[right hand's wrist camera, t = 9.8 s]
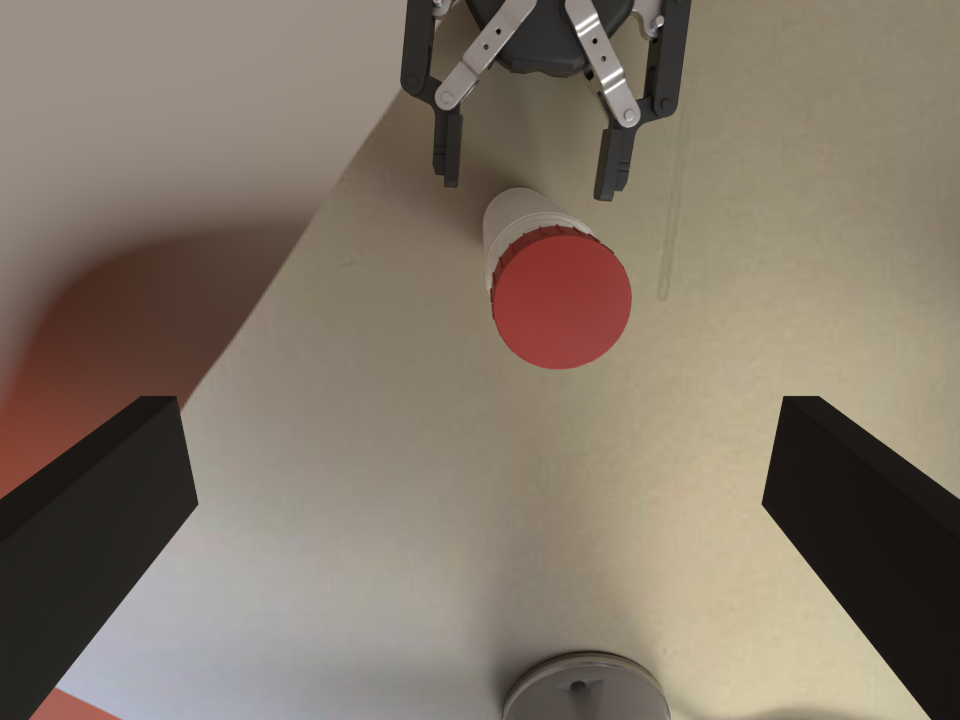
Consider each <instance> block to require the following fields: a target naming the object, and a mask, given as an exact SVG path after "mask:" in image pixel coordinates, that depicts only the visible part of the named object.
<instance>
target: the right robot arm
mask: <svg viewBox="0 0 960 720" xmlns="http://www.w3.org/2000/svg"><path fill="white" fill-rule="evenodd" d="M197 506H198V499H197V494H196V490H195V485H194V480H193V475H192V470H191V465H190V460H189V455H188V450H187V445H186V440H185V435H184V430H183V426H182V421H181V416H180V411H179V406H178V401H177V397H176V396H141V397H139V398H138V399H136V400H135V401H134V402H132V403H131V404H130V405H128V406H127V407H126V408H124V409H123V410H121V411H120V412H119V413H117V414H116V415H115V416H113V417H112V418H111V419H109V420H108V421H107V422H105V423H104V424H102V425H101V426H100V427H98V428H97V429H96V430H94V431H93V432H92V433H90V434H89V435H87V436H86V437H85V438H83V439H82V440H81V441H79V442H78V443H77V444H75V445H74V446H72V447H71V448H70V449H68V450H67V451H66V452H64V453H63V454H62V455H60V456H59V457H57V458H56V459H55V460H53V461H52V462H51V463H49V464H48V465H47V466H45V467H44V468H43V469H41V470H40V471H38V472H37V473H36V474H34V475H33V476H32V477H30V478H29V479H28V480H26V481H25V482H23V483H22V484H21V485H19V486H18V487H17V488H15V489H14V490H13V491H11V492H10V493H9V494H7V495H6V496H4V497H3V498H2V499H0V720H29V719H30V717H31V716H32V715H33V714H34V712H35V711H36V710H37V708H38V707H39V706H40V705H41V703H42V702H43V701H44V700H45V698H46V697H47V696H48V695H49V693H50V692H51V691H52V689H53V688H54V687H55V686H56V684H57V683H58V682H59V681H60V679H61V678H62V677H63V676H64V674H65V673H66V672H67V670H68V669H69V668H70V667H71V665H72V664H73V663H74V662H75V660H76V659H77V658H78V657H79V655H80V654H81V653H82V651H83V650H84V649H85V648H86V646H87V645H88V644H89V643H90V641H91V640H92V639H93V637H94V636H95V635H96V634H97V632H98V631H99V630H100V629H101V627H102V626H103V625H104V624H105V622H106V621H107V620H108V618H109V617H110V616H111V615H112V613H113V612H114V611H115V610H116V608H117V607H118V606H119V604H120V603H121V602H122V601H123V599H124V598H125V597H126V596H127V594H128V593H129V592H130V591H131V589H132V588H133V587H134V585H135V584H136V583H137V582H138V580H139V579H140V578H141V577H142V575H143V574H144V573H145V571H146V570H147V569H148V568H149V566H150V565H151V564H152V563H153V561H154V560H155V559H156V558H157V556H158V555H159V554H160V552H161V551H162V550H163V549H164V547H165V546H166V545H167V544H168V542H169V541H170V540H171V539H172V537H173V536H174V535H175V533H176V532H177V531H178V530H179V528H180V527H181V526H182V525H183V523H184V522H185V521H186V519H187V518H188V517H189V516H190V514H191V513H192V512H193V511H194V509H195V508H196V507H197ZM762 506H763V507H764V508H765V509H766V511H767V512H768V513H769V514H770V516H771V517H772V518H773V519H774V521H775V522H776V523H777V525H778V526H779V527H780V528H781V530H782V531H783V532H784V533H785V535H786V536H787V537H788V539H789V540H790V541H791V542H792V544H793V545H794V546H795V547H796V549H797V550H798V551H799V552H800V554H801V555H802V556H803V558H804V559H805V560H806V561H807V563H808V564H809V565H810V566H811V568H812V569H813V570H814V571H815V573H816V574H817V575H818V577H819V578H820V579H821V580H822V582H823V583H824V584H825V585H826V587H827V588H828V589H829V591H830V592H831V593H832V594H833V596H834V597H835V598H836V599H837V601H838V602H839V603H840V604H841V606H842V607H843V608H844V610H845V611H846V612H847V613H848V615H849V616H850V617H851V618H852V620H853V621H854V622H855V624H856V625H857V626H858V627H859V629H860V630H861V631H862V632H863V634H864V635H865V636H866V637H867V639H868V640H869V641H870V643H871V644H872V645H873V646H874V648H875V649H876V650H877V651H878V653H879V654H880V655H881V657H882V658H883V659H884V660H885V662H886V663H887V664H888V665H889V667H890V668H891V669H892V670H893V672H894V673H895V674H896V676H897V677H898V678H899V679H900V681H901V682H902V683H903V684H904V686H905V687H906V688H907V689H908V691H909V692H910V693H911V695H912V696H913V697H914V698H915V700H916V701H917V702H918V703H919V705H920V706H921V707H922V709H923V710H924V711H925V712H926V714H927V715H928V716H929V717H930V719H931V720H960V499H958V498H957V497H956V496H954V495H953V494H952V493H950V492H949V491H947V490H946V489H945V488H943V487H942V486H941V485H939V484H938V483H937V482H935V481H934V480H932V479H931V478H930V477H928V476H927V475H926V474H924V473H923V472H922V471H920V470H919V469H917V468H916V467H915V466H913V465H912V464H911V463H909V462H908V461H907V460H905V459H904V458H903V457H901V456H900V455H898V454H897V453H896V452H894V451H893V450H892V449H890V448H889V447H888V446H886V445H885V444H883V443H882V442H881V441H879V440H878V439H877V438H875V437H874V436H873V435H871V434H870V433H868V432H867V431H866V430H864V429H863V428H862V427H860V426H859V425H858V424H856V423H855V422H854V421H852V420H851V419H849V418H848V417H847V416H845V415H844V414H843V413H841V412H840V411H839V410H837V409H836V408H834V407H833V406H832V405H830V404H829V403H828V402H826V401H825V400H824V399H822V398H821V397H819V396H783V401H782V406H781V411H780V416H779V421H778V426H777V430H776V435H775V440H774V445H773V450H772V455H771V460H770V465H769V470H768V475H767V480H766V485H765V490H764V494H763V499H762ZM503 720H671V716H670V711H669V708H668V705H667V702H666V699H665V696H664V693H663V691H662V689H661V687H660V685H659V684H658V682H657V681H656V679H655V678H654V677H653V676H652V675H651V674H650V673H649V672H648V671H646V670H645V669H644V668H642V667H641V666H639V665H637V664H636V663H634V662H632V661H629V660H627V659H624V658H622V657H618V656H614V655H609V654H603V653H577V654H570V655H565V656H561V657H557V658H554V659H551V660H549V661H546V662H544V663H542V664H540V665H538V666H536V667H535V668H533V669H532V670H530V671H529V672H527V673H526V674H525V675H524V676H522V677H521V678H520V679H519V680H518V681H517V683H516V684H515V685H514V686H513V688H512V689H511V691H510V692H509V694H508V696H507V698H506V701H505V704H504V709H503Z"/></svg>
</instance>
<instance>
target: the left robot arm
mask: <svg viewBox="0 0 960 720" xmlns="http://www.w3.org/2000/svg"><path fill="white" fill-rule="evenodd" d="M455 1H456V0H408V2H407V13H406V24H405V35H404V46H403V57H402V68H401V78H400V82H401V86H402V88H403V89H404V90H405V91H406V92H407V93H409V94H410V95H411V96H413V97H415V98H418V99H420V100H422V101H424V102H426V103H428V104H430V105H431V106H432V108H433V109H434V112H435V133H434V151H433V167H434V170H435V174H436V175H445V176H444V187H451V188H457V187H458V180H459V167H460V153H461V139H462V125H463V116H462V115H461V114H460V105H461V104H462V103H463V102H464V101H465V99H466V98H467V97H468V96H469V95H470V93H471V92H472V91H473V90H474V88H475V87H476V86H477V85H478V84H479V83H480V82H481V81H482V80H483V79H484V77H485V76H486V75H487V74H488V73H489V71H490V70H491V69H492V68H493V66H494V65H495V64H496V63H497V62H499V63H500V65H502V66H503V67H504V68H506V69H508V70H510V73H520V74H526V73H531V72H536V71H540V72H543V73H545V74H547V75H550V76H552V77H561V78H567V77H568V76H571V75H574V74H577V73H578V72H581V74H582V76H583V78H584V80H585V82H586V84H587V86H588V87H589V89H590V91H591V92H592V94H593V95H594V96H595V97H596V99H597V101H598V103H599V105H600V107H601V109H602V111H603V113H604V115H605V117H606V119H607V121H608V123H609V125H608V129H604V130H603V134H602V141H601V147H600V154H599V161H598V167H597V174H596V181H595V187H594V199H596V200H599V201H610V202H611V201H612V199H613V195H614V191H622V190H623V188H624V186H625V185H626V183H627V179H628V173H629V167H630V161H631V155H632V150H633V144H634V138H635V134H636V131H637V129H638V128H639V127H640V126H641V125H642V124H644V123H646V122H650V121H653V120H657V119H660V118H664V117H668V116H670V115H672V114H673V113H674V112H675V110H676V108H677V104H678V97H679V89H680V82H681V74H682V67H683V59H684V52H685V44H686V37H687V29H688V22H689V14H690V7H691V0H466V2H467V5H468V7H469V9H470V11H471V13H472V15H473V16H474V18H475V20H476V22H477V24H478V26H479V28H480V30H481V33H480V34H479V36H478V37H477V38H476V39H475V41H474V42H473V43H472V44H471V46H470V47H469V48H468V49H467V51H466V52H465V53H464V55H463V56H462V58H461V59H460V61H459V63H458V64H457V65H456V66H455V68H454V69H453V70H452V71H451V73H450V74H449V75H448V76H447V78H446V79H445V80H444V81H443V82H441V81H439V80H437V79H435V78H433V77H431V76H430V67H431V58H432V48H433V39H434V30H435V21H436V19H437V20H442V19H445V18H446V17H447V16H448V15H449V13H450V11H451V7H452V5H453V3H454V2H455ZM629 15H632V16H634V17H635V18H636V19H637V20H638V23H639V31H640V35H641V36H642V38H644V39H645V40H649V50H648V59H647V68H646V77H645V85H644V94H643V98H642V99H639V100H635V98H634V96H633V94H632V92H631V90H630V88H629V86H628V84H627V82H626V80H625V76H624V70H623V68H622V66H621V64H620V62H619V60H618V57H617V55H616V53H615V51H614V49H613V47H612V45H611V43H610V41H609V39H610V38H611V37H612V36H613V34H614V33H615V32H616V31H617V30H618V28H619V27H620V26H621V25H622V24H623V22H624V21H625V20H626V19H627V18H628V16H629ZM602 57H603V58H604V61H603V59H602ZM591 68H592V69H591Z"/></svg>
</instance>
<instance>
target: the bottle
mask: <svg viewBox="0 0 960 720" xmlns="http://www.w3.org/2000/svg"><path fill="white" fill-rule="evenodd" d="M556 224H558V225H559V226H566V227H571V228H572V227H573V226H574V227H576V228H577V229H578V230H580V231H582V232H584V233H586V234H588V233H590V234H591V235H593V236H594V237H595V238H596V236H595V235H594V234H593V232H592V231H591V230H590V229H589V228H588V227H587V226H586V225H585V224H584V223H582V222H581V221H579V220H578V219H576V218H575V217H574V216H572V215H571V214H569V213H568V212H566V211H565V210H563V209H562V208H561V207H559V206H558V205H556V204H555V203H553V202H552V201H550V200H549V199H547V198H546V197H545V196H543V195H542V194H540V193H539V192H537V191H535V190H532V189H529V188H523V187H518V188H511V189H508V190H505V191H503V192H501V193H500V194H499V195H497V196H496V197H495V198H494V199H493V200H492V201H491V202H490V204H489V205H488V207H487V209H486V211H485V214H484V218H483V244H484V267H485V282H486V287H487V290H488V293H489V296H490V288H492V279H493V278H492V272H494V271H495V268H496V265H497V263H498V261H499V259H498V258H499V256H500V257H501V256H502V255H503V253H504V252H505V250H506V249H507V248H508V247H509V244H510V243H511V244H512V243H513V242H514V241H515V240H517V239H518V238H519V237H521V236H522V235H523V233H525V234H526V233H528V232H530V231H532V230H535V229H538V228H539V226H541V227H547V226H556Z"/></svg>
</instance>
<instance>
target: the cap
mask: <svg viewBox="0 0 960 720" xmlns="http://www.w3.org/2000/svg"><path fill="white" fill-rule="evenodd" d="M600 242H601V241H599V240H598V239H597V238H595V237H594V236H593V235H591V234H590V233H588V234H586V233H584V232H582V231H580V230H578V229H577V228H576V227H574V226H573V227H572V228H571V227H566V226H559V225H558V224H556V226H547V227H541V226H539V228H538V229H535V230H532V231H530V232H528V233H526V234H525V233H523V235H522V236H521V237H519V238H518V239H517V240H515V241H514V242H513V243H512V244H511V243H510V244H509V247H508V248H507V249H506V250H505V252H504V253H503V255H502V256H501V257H500V256H499V258H498V259H499V261H498V263H497V265H496V268H495V271H494V272H492V278H493V279H492V288H490V298H491V303H493V304H492V315H493V320H495V323H496V326H497V329H498V331H499V334H500V335H501V337H502V339H503V340H504V342H505V343H506V345H507V346H508V347H509V348H510V349H511V350H512V351H513V352H514V353H515V354H516V355H517V356H519V357H520V358H522V359H523V360H525V361H527V362H529V363H531V364H533V365H536V366H539V367H543V368H548V369H570V368H575V367H579V366H582V365H585V364H587V363H590V362H592V361H594V360H595V359H597V358H599V357H600V356H602V355H603V354H604V353H605V352H607V351H608V350H609V349H610V348H611V347H612V346H613V345H614V344H615V342H616V341H617V340H618V339H619V337H620V336H621V334H622V332H623V331H624V328H625V326H626V324H627V322H628V318H629V315H630V310H631V298H632V296H631V287H630V283H629V279H628V276H627V274H626V272H625V270H624V267H623V266H622V264H621V263H620V261H619V260H618V259H617V258H616V256H615V255H614V252H613V251H611V250H610V249H609V248H607V247H606V246H605V245H603V244H602V243H601V244H600Z"/></svg>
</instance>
